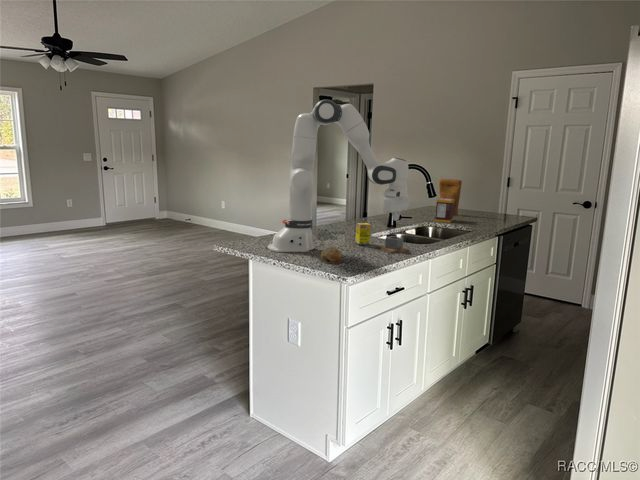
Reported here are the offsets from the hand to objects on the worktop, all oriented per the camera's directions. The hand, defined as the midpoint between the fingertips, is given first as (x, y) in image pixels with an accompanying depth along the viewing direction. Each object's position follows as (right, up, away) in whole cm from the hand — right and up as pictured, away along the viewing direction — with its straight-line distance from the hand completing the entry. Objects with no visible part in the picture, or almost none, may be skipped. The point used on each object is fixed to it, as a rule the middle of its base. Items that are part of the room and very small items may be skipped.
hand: (395, 220), depth 226 cm
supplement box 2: (+52, +4, +107) cm, 119 cm away
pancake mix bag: (+64, +10, +138) cm, 152 cm away
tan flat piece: (-1, -15, +3) cm, 15 cm away
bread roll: (-32, -19, -23) cm, 44 cm away
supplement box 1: (-15, -12, +14) cm, 24 cm away
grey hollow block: (-1, -14, +3) cm, 14 cm away
